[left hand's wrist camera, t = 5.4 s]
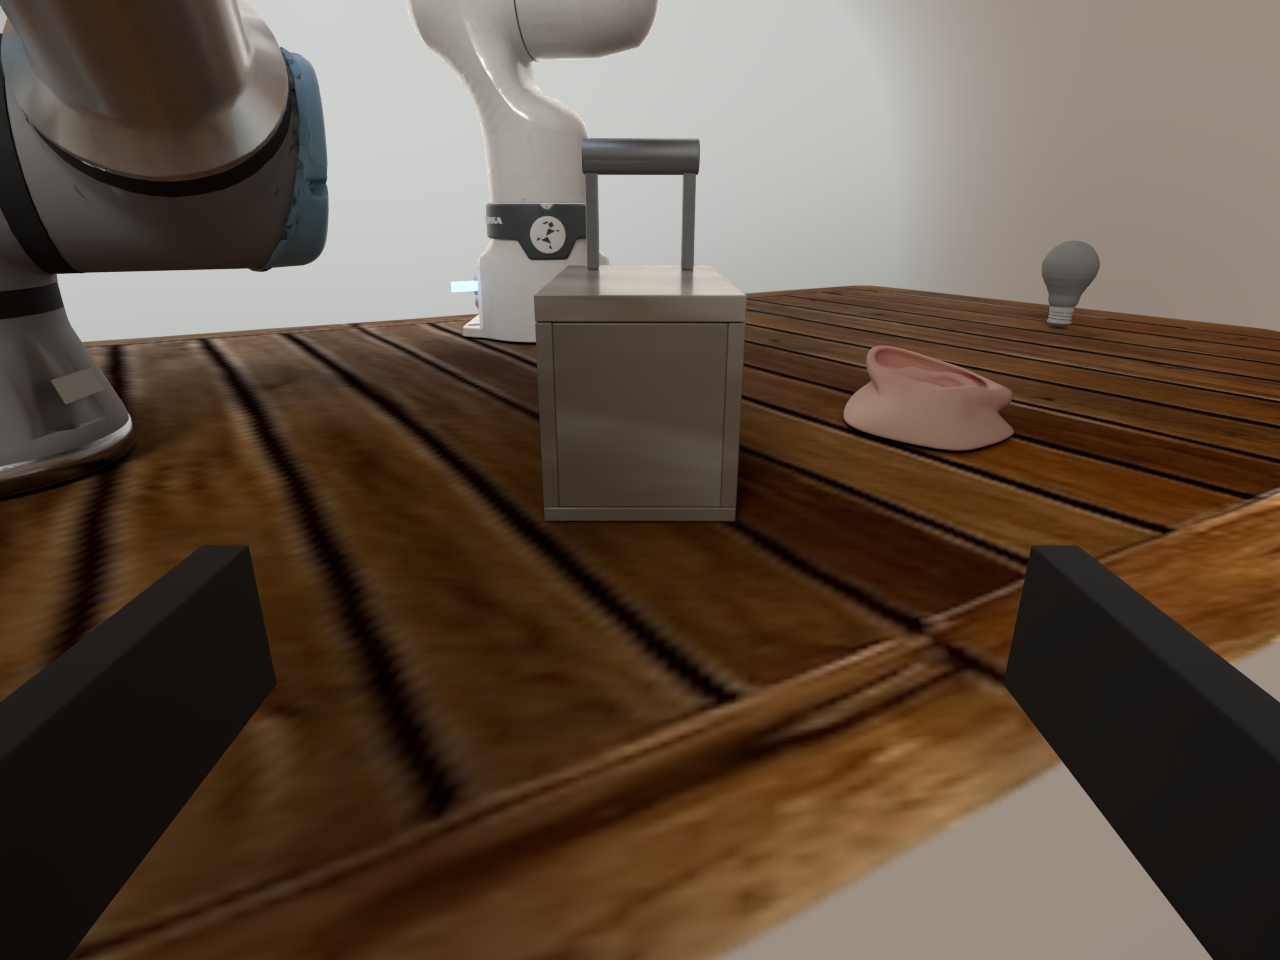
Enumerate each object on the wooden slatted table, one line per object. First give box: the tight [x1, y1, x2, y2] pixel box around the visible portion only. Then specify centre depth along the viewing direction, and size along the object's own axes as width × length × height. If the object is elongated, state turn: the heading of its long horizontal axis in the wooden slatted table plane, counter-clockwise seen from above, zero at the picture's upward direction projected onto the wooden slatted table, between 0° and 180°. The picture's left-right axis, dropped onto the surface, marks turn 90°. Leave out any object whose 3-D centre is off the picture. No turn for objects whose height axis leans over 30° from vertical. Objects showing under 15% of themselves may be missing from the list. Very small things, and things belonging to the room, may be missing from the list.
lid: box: [534, 138, 747, 322], centre depth 38 cm, size 16×9×8 cm, turn 0°
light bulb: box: [1042, 241, 1100, 327], centre depth 89 cm, size 6×6×10 cm
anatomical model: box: [844, 346, 1014, 451], centre depth 51 cm, size 13×4×12 cm
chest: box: [535, 322, 745, 521], centre depth 41 cm, size 16×9×9 cm, turn 0°
